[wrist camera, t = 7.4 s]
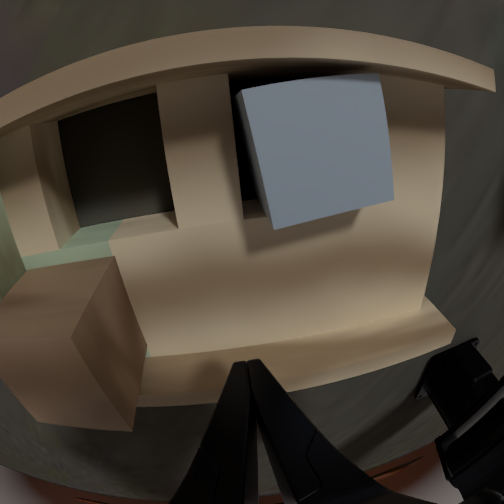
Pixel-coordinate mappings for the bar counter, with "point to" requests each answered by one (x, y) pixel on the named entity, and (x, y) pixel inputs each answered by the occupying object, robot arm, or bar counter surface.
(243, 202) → the box
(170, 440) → the bar counter surface
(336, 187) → the trapped block
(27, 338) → the walnut block
